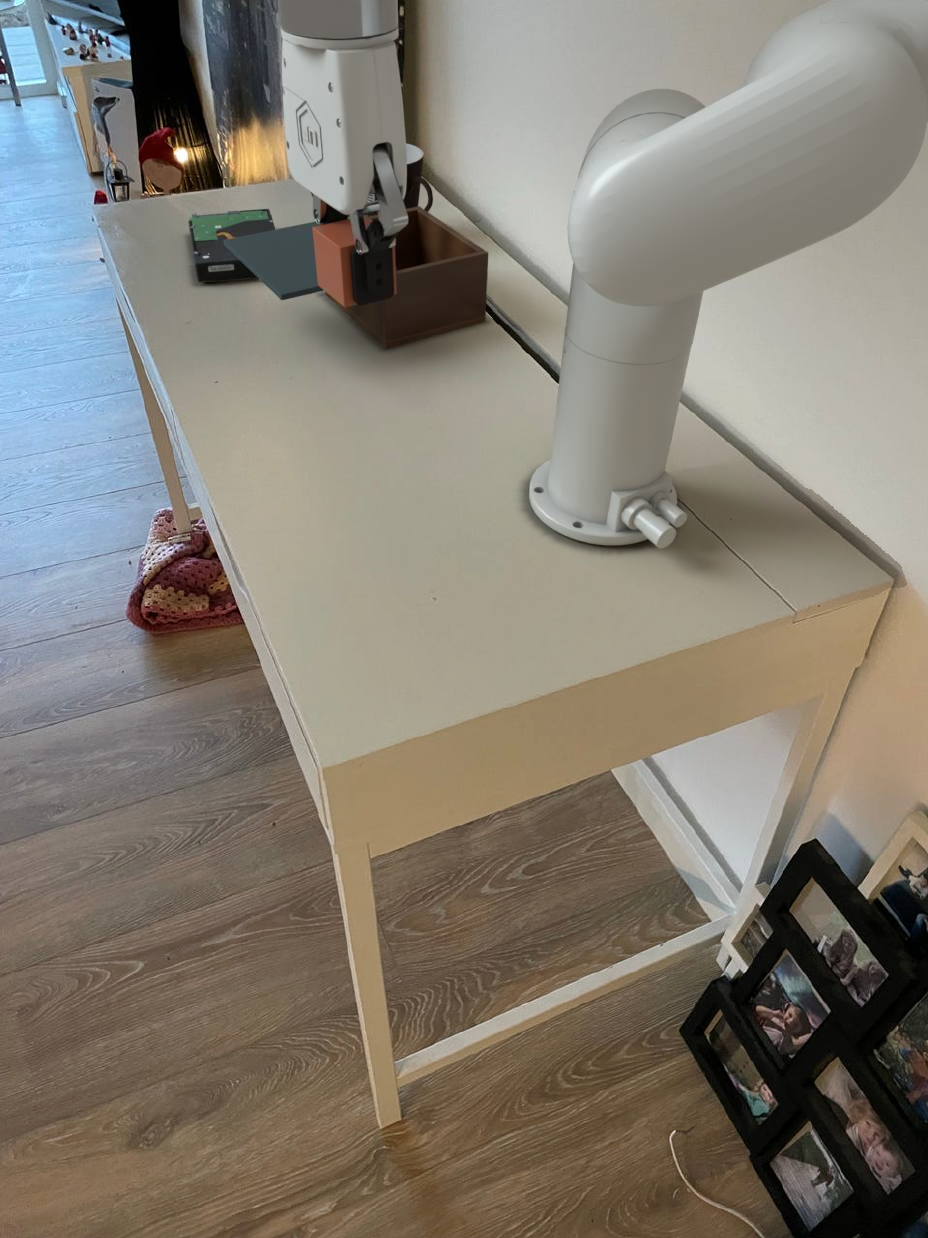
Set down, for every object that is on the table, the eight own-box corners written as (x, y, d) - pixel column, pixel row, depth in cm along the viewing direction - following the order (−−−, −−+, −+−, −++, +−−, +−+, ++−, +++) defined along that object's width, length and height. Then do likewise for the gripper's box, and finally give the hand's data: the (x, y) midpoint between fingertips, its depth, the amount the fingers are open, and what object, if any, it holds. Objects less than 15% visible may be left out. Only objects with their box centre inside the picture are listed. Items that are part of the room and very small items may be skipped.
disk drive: (287, 278, 111) (271, 228, 121) (285, 255, 109) (269, 205, 119) (198, 286, 109) (189, 234, 119) (194, 263, 107) (185, 212, 117)
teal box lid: (397, 273, 95) (396, 242, 93) (281, 300, 90) (278, 268, 88) (332, 223, 104) (330, 194, 101) (224, 245, 98) (219, 215, 96)
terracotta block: (397, 294, 72) (394, 234, 69) (344, 307, 70) (340, 247, 67) (368, 272, 75) (365, 214, 71) (317, 285, 73) (311, 226, 70)
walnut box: (485, 321, 105) (488, 252, 99) (386, 348, 100) (383, 277, 94) (419, 272, 113) (419, 205, 108) (325, 294, 108) (319, 226, 103)
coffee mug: (349, 225, 123) (345, 143, 116) (413, 219, 125) (413, 139, 118) (370, 262, 115) (367, 177, 108) (438, 255, 117) (439, 171, 110)
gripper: (230, -10, 63) (266, 258, 76) (348, 45, 53) (367, 344, 66) (330, -21, 66) (349, 239, 79) (460, 29, 56) (457, 318, 69)
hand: (357, 284), depth 72 cm, fingers closed on terracotta block, 4 cm apart
